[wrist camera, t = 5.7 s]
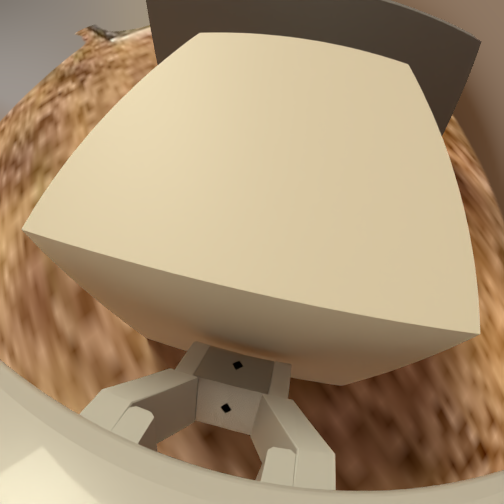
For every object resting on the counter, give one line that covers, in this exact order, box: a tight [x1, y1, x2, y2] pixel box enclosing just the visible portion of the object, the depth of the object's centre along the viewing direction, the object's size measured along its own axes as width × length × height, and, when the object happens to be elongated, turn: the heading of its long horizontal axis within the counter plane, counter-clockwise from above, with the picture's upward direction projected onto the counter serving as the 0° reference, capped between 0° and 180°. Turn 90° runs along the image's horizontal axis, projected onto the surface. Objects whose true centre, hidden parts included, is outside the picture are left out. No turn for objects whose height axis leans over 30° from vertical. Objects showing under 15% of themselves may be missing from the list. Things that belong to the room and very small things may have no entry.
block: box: [22, 33, 480, 386], centre depth 12 cm, size 12×10×10 cm
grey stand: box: [146, 0, 481, 136], centre depth 19 cm, size 9×24×12 cm, turn 76°
